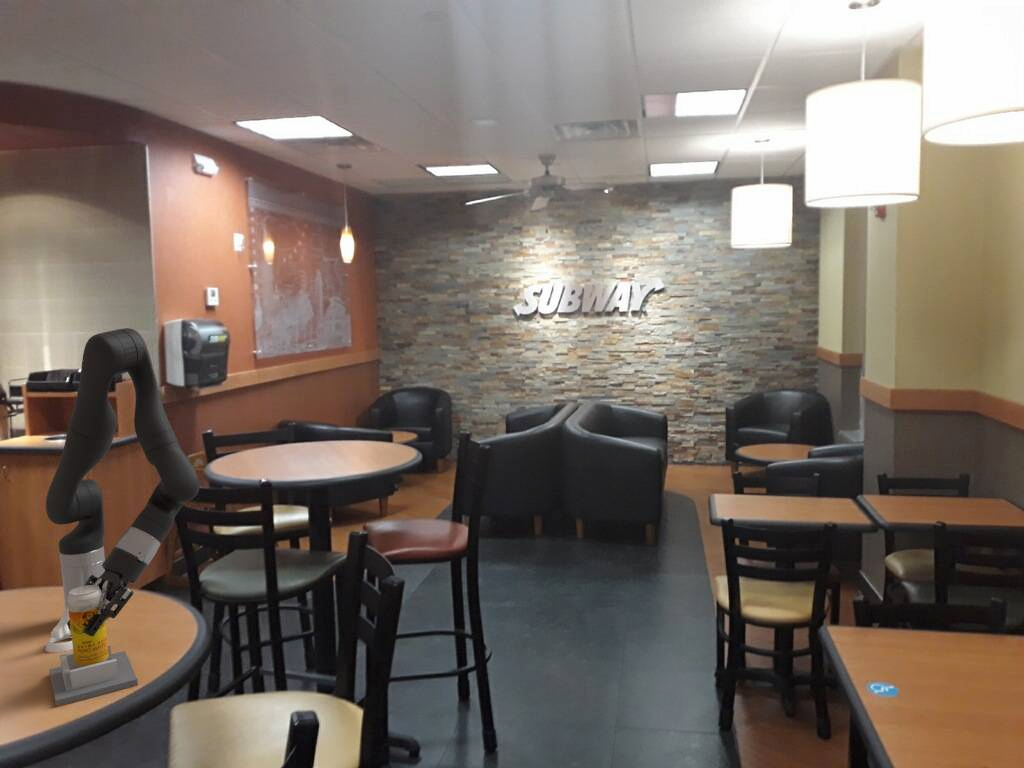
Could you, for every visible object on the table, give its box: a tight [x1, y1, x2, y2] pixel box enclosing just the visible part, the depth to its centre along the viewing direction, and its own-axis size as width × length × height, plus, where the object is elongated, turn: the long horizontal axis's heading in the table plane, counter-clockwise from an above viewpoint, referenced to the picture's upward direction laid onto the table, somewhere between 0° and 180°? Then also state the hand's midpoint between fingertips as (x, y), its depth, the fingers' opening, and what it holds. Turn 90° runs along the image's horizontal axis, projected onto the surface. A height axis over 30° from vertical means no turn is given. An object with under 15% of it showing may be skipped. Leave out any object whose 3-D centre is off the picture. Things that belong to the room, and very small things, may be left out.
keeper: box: [48, 643, 139, 708], centre depth 163 cm, size 16×14×5 cm
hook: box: [44, 607, 73, 653], centre depth 180 cm, size 8×12×7 cm
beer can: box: [67, 585, 109, 668], centre depth 162 cm, size 6×6×15 cm
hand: (79, 630), depth 161 cm, fingers closed on beer can, 6 cm apart
